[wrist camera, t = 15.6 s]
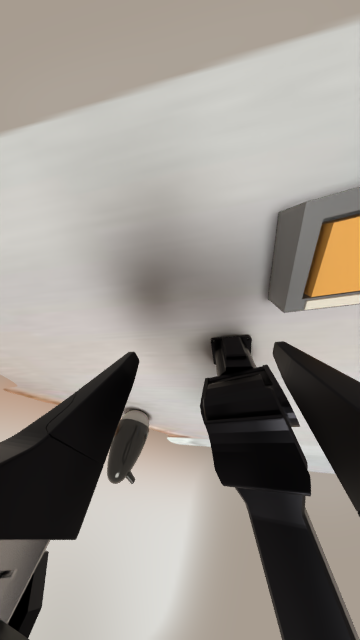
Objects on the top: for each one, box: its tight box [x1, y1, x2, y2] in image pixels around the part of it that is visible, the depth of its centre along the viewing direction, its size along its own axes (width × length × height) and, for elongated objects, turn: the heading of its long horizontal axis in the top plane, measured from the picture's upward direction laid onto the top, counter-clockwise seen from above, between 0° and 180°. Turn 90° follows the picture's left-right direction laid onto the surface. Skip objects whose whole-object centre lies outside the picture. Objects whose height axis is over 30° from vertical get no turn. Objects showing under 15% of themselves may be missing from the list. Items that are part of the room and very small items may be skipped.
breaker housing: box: [268, 187, 360, 313], centre depth 12 cm, size 10×10×4 cm
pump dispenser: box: [107, 410, 149, 484], centre depth 38 cm, size 10×10×15 cm
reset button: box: [304, 213, 360, 297], centre depth 12 cm, size 6×6×3 cm
